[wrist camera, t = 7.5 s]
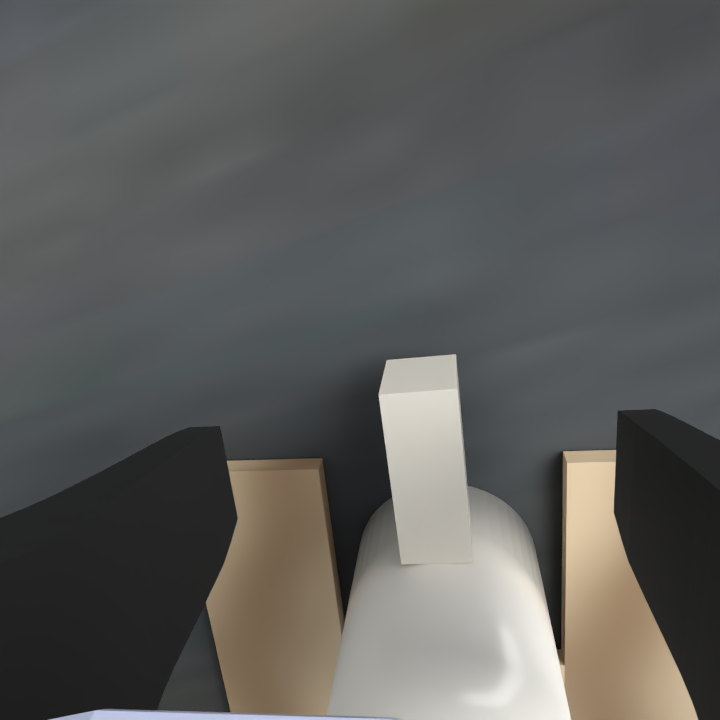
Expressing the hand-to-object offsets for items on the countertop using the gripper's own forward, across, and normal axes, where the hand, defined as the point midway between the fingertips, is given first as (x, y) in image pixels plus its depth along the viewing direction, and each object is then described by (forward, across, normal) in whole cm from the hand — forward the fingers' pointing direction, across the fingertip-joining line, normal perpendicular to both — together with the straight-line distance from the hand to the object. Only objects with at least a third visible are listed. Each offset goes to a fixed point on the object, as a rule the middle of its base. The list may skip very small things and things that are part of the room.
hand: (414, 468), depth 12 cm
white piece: (+5, 0, +4) cm, 7 cm away
